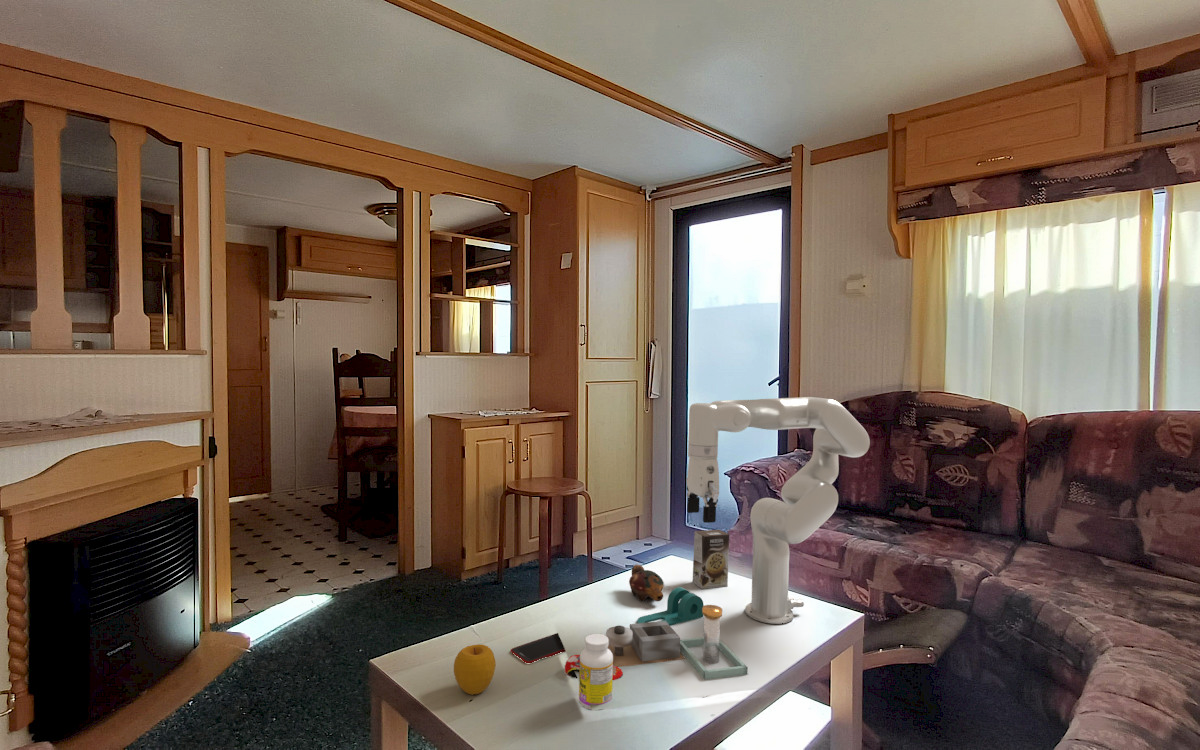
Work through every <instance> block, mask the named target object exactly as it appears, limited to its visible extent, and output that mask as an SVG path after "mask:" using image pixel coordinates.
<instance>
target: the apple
mask: <svg viewBox="0 0 1200 750" xmlns="http://www.w3.org/2000/svg"><path fill="white" fill-rule="evenodd" d="M496 664H497V661H496V659H495V654H494V651H493V650H492V649H491V648H490V647H489V646H487V645H484V644H481V643H480V644H479V643H478V644H472V645H468V646H465V647H463V648H462V649H461V650H460V651H459V652H458V653H457V655H456V656H455V658H454V663H453V674H454V678H455V681H456V683H457V685H458V687H459V688H461V690H462V691H463V692H464V693H466V694H468V695H471V696H472V695H473V696H474V694H475V695H478V694H481V693H483V692H484V691H486V689H487V688H488V687H489V685H490V684H491V682H492V680H493V677H494V675H495V670H496Z"/></svg>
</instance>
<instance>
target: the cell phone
mask: <svg viewBox="0 0 1200 750" xmlns="http://www.w3.org/2000/svg"><path fill="white" fill-rule="evenodd" d="M566 651H567V650H566V649H565V647H564V643H563V642H562V639H561V637H560V635H559V633H558V632H555V633H553V634H549V635H547V636H545V637H542V638H539V639H536V640H534V641H530V642H527V643H523V644H521V645H518V646H516V647H515V646H514V647H513V648H511V649H510V653H511V652H512V653H514V654H515V655H516V656H518V657H519V658H521V659H522V660H523V661H524V662H526V663H532V662H534V661H537V660H539V659H542V658H545V657H549V656H551V657H554V656H556V655H555V654H557V655H559V654H558V653H560V652H562V653H565V652H566ZM560 654H561V653H560ZM553 655H554V656H553ZM549 658H550V657H549ZM545 659H546V658H545ZM542 660H543V659H542ZM524 662H523V663H524ZM537 662H538V661H537ZM532 664H533V663H532Z"/></svg>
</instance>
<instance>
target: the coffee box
mask: <svg viewBox="0 0 1200 750" xmlns="http://www.w3.org/2000/svg"><path fill="white" fill-rule="evenodd" d="M693 538H694V539H693V540H694V541H693V543H694V544H693V563H692V564H693V567H692V582H693V584H695V585H696V586H697V587H699V588H700V589H713V588H720V587H721V588H722V587H728V585H729V584H728V581H729V580H728V579H729V578H728V577H729V555H730V554H729V552H730V550H729V549H730V534H729V533H727V532H725V531H723V530H721V529H709V530H707V529H705V530H694V535H693Z"/></svg>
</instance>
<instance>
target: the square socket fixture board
mask: <svg viewBox="0 0 1200 750" xmlns="http://www.w3.org/2000/svg"><path fill="white" fill-rule="evenodd" d="M657 621H658V622H657ZM657 621H651V622H647V623H629V627H626V626H624V625H615V626H611V627H609V628H607V629H606V633H605V636H607V637H608V640H609V645H608V649H609V650H610V651H611V652H612V654H613V665H614V666H616V667H618V668H620V667H628V666H629V667H630V666H639V665H647V664H656V663H664V662H674V661H682V660H683V661H684V660H686V657H685V655H684V654H683V653H682V652H681V650H680V640H681V637H680V636H679V635H678V633H677V632H676V630H674V629H673V627H672V625H671V626H670V625H669V624H668V623H667V622H666V621H661V620H657Z"/></svg>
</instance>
